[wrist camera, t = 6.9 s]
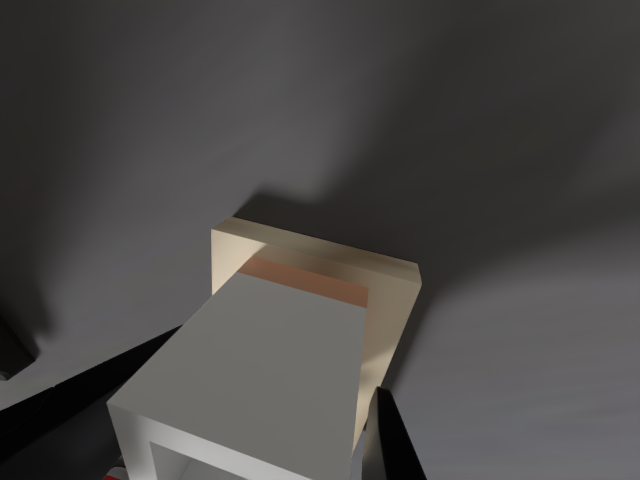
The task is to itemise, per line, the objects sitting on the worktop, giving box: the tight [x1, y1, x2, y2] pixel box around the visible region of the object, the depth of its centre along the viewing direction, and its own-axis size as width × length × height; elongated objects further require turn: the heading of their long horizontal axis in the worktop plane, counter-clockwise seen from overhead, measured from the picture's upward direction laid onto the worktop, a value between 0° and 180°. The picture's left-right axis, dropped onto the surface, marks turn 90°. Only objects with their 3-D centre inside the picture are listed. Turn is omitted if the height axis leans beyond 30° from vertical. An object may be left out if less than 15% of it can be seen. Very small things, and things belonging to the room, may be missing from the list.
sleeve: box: [106, 256, 369, 480], centre depth 8 cm, size 5×5×6 cm
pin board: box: [211, 217, 422, 454], centre depth 11 cm, size 8×12×6 cm, turn 171°
